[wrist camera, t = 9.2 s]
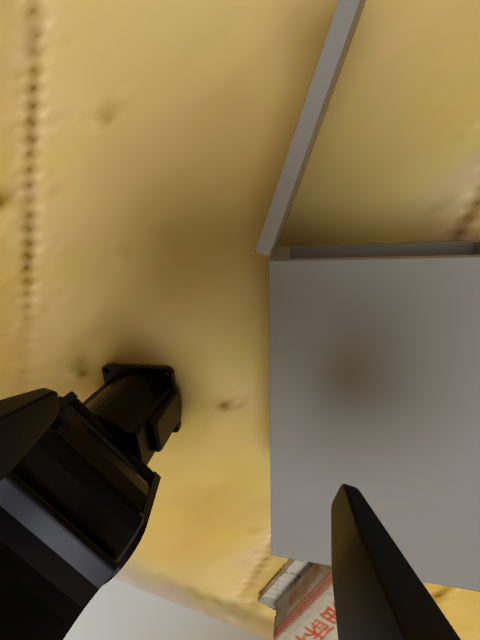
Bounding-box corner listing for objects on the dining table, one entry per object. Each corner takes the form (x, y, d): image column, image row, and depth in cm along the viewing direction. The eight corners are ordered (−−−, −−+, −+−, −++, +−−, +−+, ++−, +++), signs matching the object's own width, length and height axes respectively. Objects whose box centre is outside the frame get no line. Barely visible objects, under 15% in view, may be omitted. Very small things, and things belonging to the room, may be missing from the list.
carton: (277, 453, 24) (271, 555, 17) (278, 246, 18) (269, 261, 11) (427, 469, 22) (496, 594, 14) (481, 240, 16) (644, 253, 9)
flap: (277, 243, 18) (256, 273, 7) (263, 238, 18) (221, 260, 7) (363, 6, 13) (652, -868, 3) (344, 0, 14) (550, -875, 3)
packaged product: (343, 693, 27) (252, 647, 27) (336, 627, 32) (258, 588, 32) (469, 615, 20) (348, 555, 21) (438, 544, 25) (339, 496, 25)
